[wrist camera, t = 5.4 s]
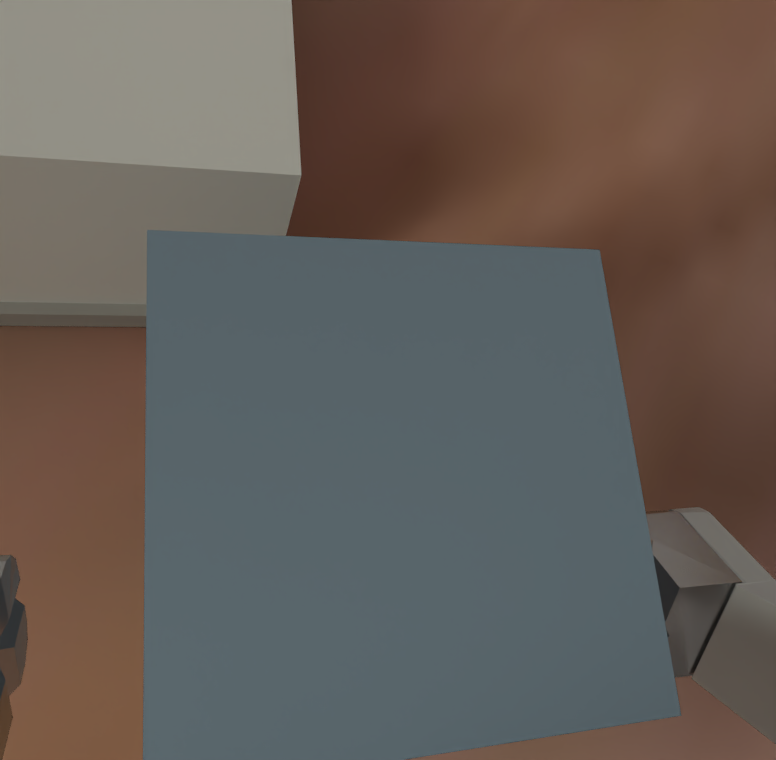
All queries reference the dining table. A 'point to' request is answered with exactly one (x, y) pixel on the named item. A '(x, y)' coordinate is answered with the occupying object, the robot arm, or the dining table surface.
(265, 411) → the grey tall block
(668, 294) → the dining table surface
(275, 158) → the riser
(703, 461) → the dining table surface
